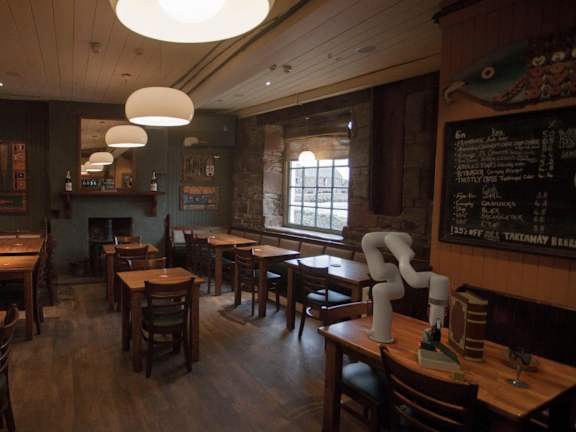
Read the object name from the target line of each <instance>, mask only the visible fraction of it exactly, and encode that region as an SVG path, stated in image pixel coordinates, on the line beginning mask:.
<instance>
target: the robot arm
mask: <svg viewBox="0 0 576 432" xmlns="http://www.w3.org/2000/svg"><path fill="white" fill-rule="evenodd" d="M412 244H413V238H412V237H411V235H410V234H409V233H407V232H399V231H398V232H397V231H372V232H367V233H366V234H365V235H364V236H363V237H362V239H361V249H362V251H363V254H364V256H365V258H366V264H367V267H368V270H369V275H370V276H371V278H372V280H373V281H377V282H379V283H376V284H375V285H373V287H372V290H371V291H372V292H371V293H372V300H373V302H372V303H373V309H372V310H373V311H372V327H371V328H370V329H367V328H363V333H365V334H367V335H368V337H369V339H370V340H372V341H374V342H377V343H381V344H391V343H394V342H395V337H394V336H392V331H393V330H392V328H393V327H392V326H393V306H392V303H391V301H394V300H399V299H402V298H403V297H404V296H405V286H404V282H403V279H404V280H405V282H406V283H407V284H408V285H409V286H410V287H412V288H414V289H424V288H429V293H428V295H429V296H428V304H429V305H430V309H429V318H428V321H429V324H430V326H431V329H432V330H431V333H432V332H433V330H434V332H433V335H432V336H433V341H439V342H441V341H442V328H443V327H444V323H445V308H447V307H449V305H448V304H449V292H450V291H449V289H450V278H449V277H447V276H446V275H442V274H441V275H440V274H437V273H435V272H433V271H418V272H417V271H416V270H415V269H414V268H413V267H412V265H411V263H410V262H411V261H412V260H414V258H415V256H416V253H415V251H413V249H412V248H411V246H412ZM385 247H386V248H387V249H388V250H389V251H390V252H391V253H392V255H393V256H394V257H395V259H396V260H397V261H398V262H399V263H398V266H397V265H396V264H395V263H392V262H385V260H384V256H383V254H382V253H381V251H380V249H378V248H385ZM402 278H403V279H402ZM381 281H386V282H381ZM380 282H381V283H380Z"/></svg>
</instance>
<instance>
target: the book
mask: <svg viewBox="0 0 576 432" xmlns="http://www.w3.org/2000/svg"><path fill="white" fill-rule="evenodd" d="M417 359H418V363H419V367H421V368H425V369H431V370H436V371H441V372H448V373H452V369H458V370H461V364H460V365H458V364H457V363H456V362H454V361H453V360H452V359H451V358H449V357H448V356H447V355H445V354H444V353H443V352H441V351H428V350H425V349H422V348H417Z"/></svg>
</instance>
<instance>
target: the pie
mask: <svg viewBox="0 0 576 432" xmlns="http://www.w3.org/2000/svg"><path fill="white" fill-rule="evenodd" d="M498 357H499V358H500V359H501V360H502V362H503V364H505V365H506V366H508V367H510V368H512V369H513V370H516V368H515V367H514V366H513V365H512V363H511V362H510V360H509V355H508V350H505V351H499V352H498ZM541 364H542V363H541V361H540V360H539V359H537V358H536V357H534V356H532V361H531V363H530V365H529V366H528V367H526V368H525V369H523V370H522V372H523V371H524V372H533V371H535V370H537V368H538V367H540V366H541Z"/></svg>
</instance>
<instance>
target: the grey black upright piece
mask: <svg viewBox="0 0 576 432" xmlns="http://www.w3.org/2000/svg"><path fill="white" fill-rule="evenodd" d="M431 330H432V327H426V328H424V330H423V331H422V341H420V347H419V349H421V350H427V351H433V352H436V350H437V348H436V347H435V346H433V345H432V344H431V343H430V342H428V341H427V339H426V336H425V333H424V331H427V332H428V333H429V334H431Z"/></svg>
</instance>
